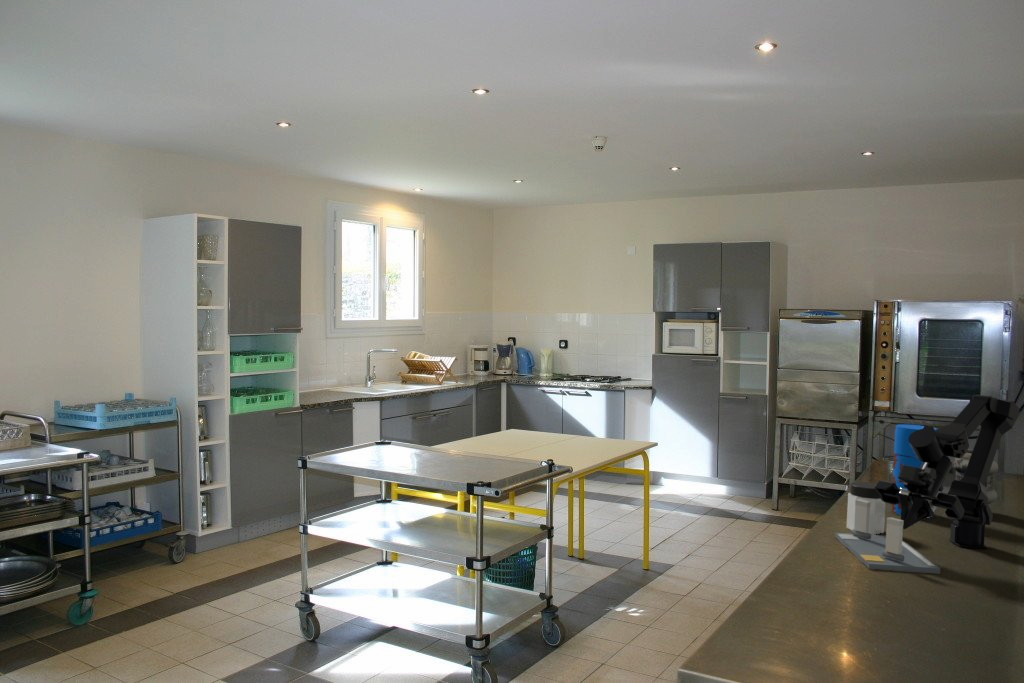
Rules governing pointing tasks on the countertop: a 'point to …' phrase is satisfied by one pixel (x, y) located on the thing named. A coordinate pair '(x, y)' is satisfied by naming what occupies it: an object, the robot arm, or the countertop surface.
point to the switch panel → (873, 558)
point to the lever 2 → (894, 539)
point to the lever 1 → (862, 519)
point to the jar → (876, 507)
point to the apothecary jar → (961, 466)
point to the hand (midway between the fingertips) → (902, 527)
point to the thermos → (903, 456)
